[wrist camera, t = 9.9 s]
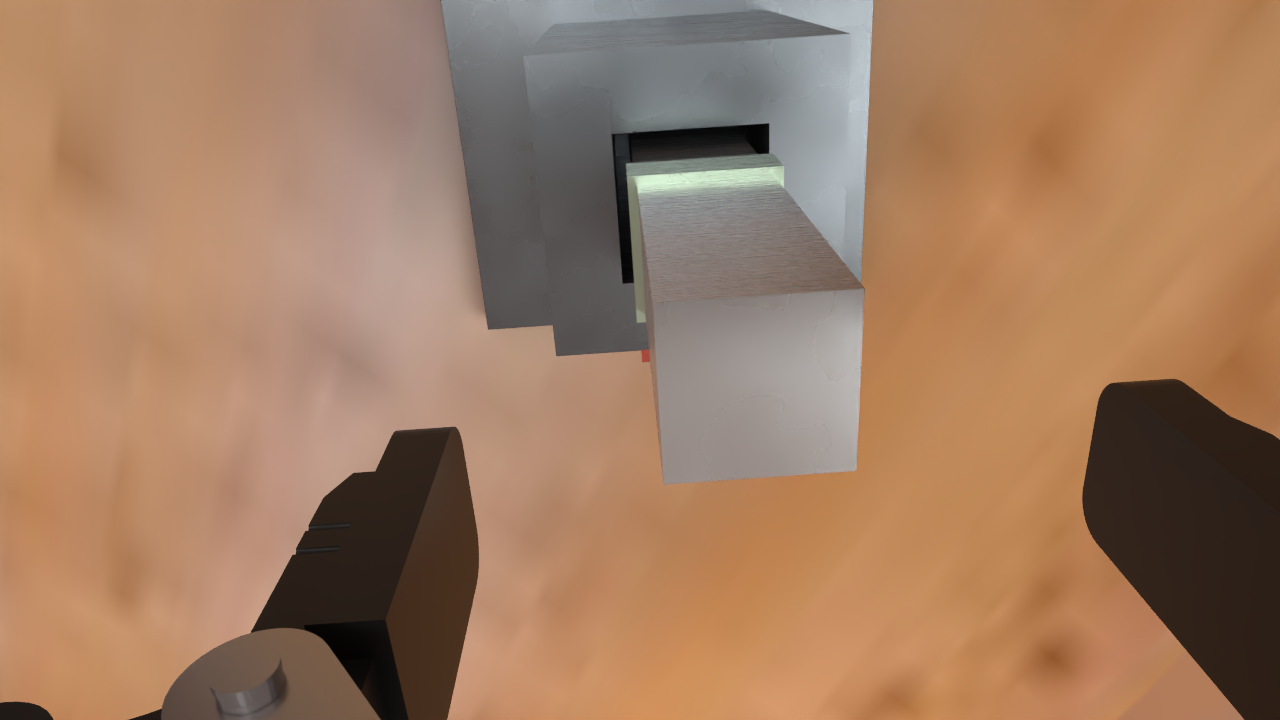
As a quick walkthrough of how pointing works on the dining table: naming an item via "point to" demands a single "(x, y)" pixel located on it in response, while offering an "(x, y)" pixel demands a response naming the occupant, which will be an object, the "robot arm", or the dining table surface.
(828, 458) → the column
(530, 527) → the dining table surface
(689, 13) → the stand housing
